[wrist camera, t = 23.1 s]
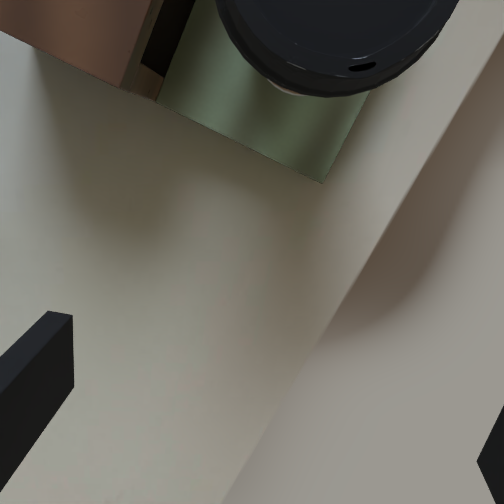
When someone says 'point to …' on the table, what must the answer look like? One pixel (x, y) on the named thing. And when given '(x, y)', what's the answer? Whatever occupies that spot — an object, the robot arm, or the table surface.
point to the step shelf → (189, 75)
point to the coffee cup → (332, 40)
